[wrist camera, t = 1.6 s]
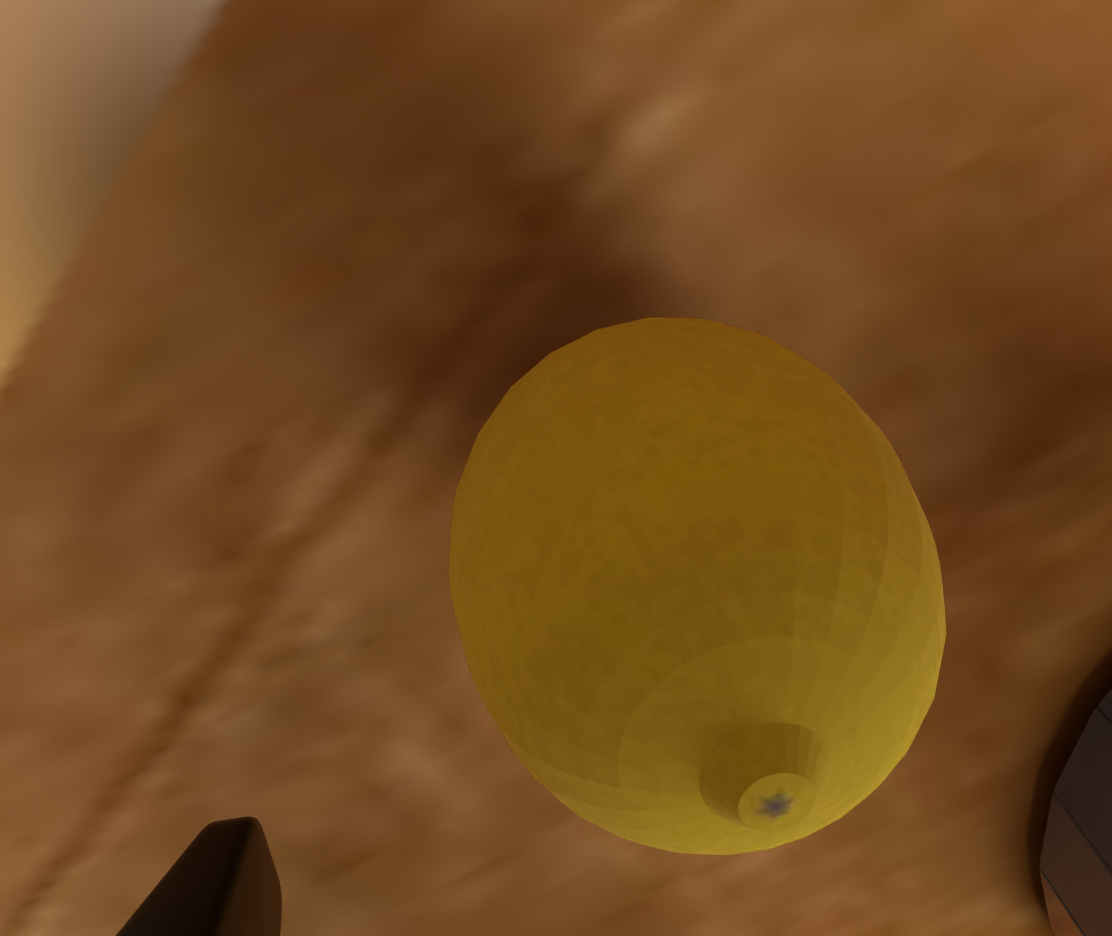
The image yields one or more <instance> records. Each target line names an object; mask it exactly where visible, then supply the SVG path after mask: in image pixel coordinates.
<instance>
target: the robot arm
mask: <svg viewBox="0 0 1112 936" xmlns="http://www.w3.org/2000/svg"><path fill="white" fill-rule="evenodd" d="M281 913H282V896H281V887H280V881H279V878H278V875H277V871H276V868H275V865H274V862H273V859H272V856H271V853H270V850H269V847H268V844H267V840H266V837H265V834H264V831H263V828H262V826H261V824H260V823H259V821H258V820H257V819H256V818H254V817H249V816H248V817H241V818H234V819H228V820H221V821H215V822H212V823H210V824H208V825H207V826H206V827H205V828H203V830H202V831H201V832H200V833H199V834H198V835H197V837H196V838H195V839H194V840H193V842H192V843H191V844H190V845H189V846H188V848H187V849H186V850H185V851H184V853H183V854H182V855H181V856H180V858H179V859H178V860H177V861H176V862H175V864H174V865H173V866H172V867H171V869H170V870H169V871H168V872H167V873H166V875H165V876H164V877H163V878H162V880H161V881H160V882H159V883H158V885H157V886H156V887H155V888H154V889H153V891H152V892H151V893H150V894H149V896H148V897H147V898H146V899H145V900H144V902H143V903H142V904H141V905H140V907H139V908H138V909H137V910H136V911H135V913H134V914H133V915H132V916H131V918H130V919H129V920H128V921H127V923H126V924H125V925H124V926H123V927H122V929H121V930H120V931H119V932H118V934H117V935H116V936H280V930H281Z"/></svg>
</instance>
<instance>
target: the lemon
mask: <svg viewBox="0 0 1112 936" xmlns="http://www.w3.org/2000/svg"><path fill="white" fill-rule="evenodd" d="M449 584H450V594H451V598H452V602H453V607H454V611H455V615H456V619H457V623H458V628H459V632H460V636H461V640H462V644H463V649H464V653H465V657H466V661H467V664H468V667H469V669H470V672H471V675H472V678H473V681H474V683H475V685H476V687H477V689H478V692H479V694H480V696H481V698H482V700H483V702H484V703H485V705H486V707H487V709H488V710H489V712H490V714H491V715H492V717H493V719H494V720H495V722H496V724H497V726H498V727H499V729H500V731H501V732H502V734H503V736H504V737H505V739H506V741H507V742H508V744H509V746H510V747H511V749H512V751H513V752H514V754H515V756H516V757H517V759H518V760H519V761H520V762H521V763H522V765H523V766H524V767H525V768H526V770H527V771H528V772H529V773H530V774H531V775H532V776H533V777H534V778H535V779H536V780H537V781H538V782H540V783H541V784H542V785H543V786H544V787H545V788H546V789H547V790H548V791H550V792H551V793H552V794H553V795H554V796H555V797H556V798H557V799H559V800H560V801H561V802H562V803H563V804H564V805H566V806H567V807H568V808H569V809H571V810H572V811H573V812H575V813H576V814H577V815H579V816H580V817H582V818H584V819H586V820H588V821H590V822H592V823H594V824H596V825H598V826H599V827H601V828H603V829H605V830H607V831H609V832H611V833H613V834H615V835H617V836H619V837H622V838H625V839H627V840H630V841H632V842H635V843H639V844H643V845H647V846H651V847H655V848H659V849H663V850H667V851H671V852H675V853H687V854H712V855H733V854H740V853H747V852H753V851H760V850H767V849H770V848H773V847H776V846H780V845H783V844H786V843H789V842H792V841H795V840H798V839H801V838H804V837H806V836H808V835H810V834H812V833H814V832H816V831H818V830H819V829H821V828H823V827H825V826H827V825H829V824H831V823H832V822H834V821H836V820H838V819H840V818H841V817H842V816H844V815H845V814H846V813H847V812H849V811H850V810H851V809H852V808H854V807H855V806H856V805H857V804H859V803H860V802H861V801H862V800H864V799H865V798H866V797H867V796H869V795H870V794H871V793H872V792H873V791H874V790H875V789H876V788H877V787H878V786H879V785H880V784H881V783H882V782H883V780H884V779H885V778H886V777H887V776H888V774H889V773H890V772H891V771H892V770H893V769H894V767H895V766H896V765H897V764H898V763H899V761H900V760H901V759H902V758H903V757H904V755H905V754H906V753H907V751H908V749H909V747H910V745H911V743H912V742H913V740H914V738H915V736H916V734H917V732H918V730H919V728H920V726H921V724H922V722H923V720H924V718H925V716H926V714H927V712H928V710H929V708H930V706H931V704H932V702H933V700H934V696H935V691H936V686H937V681H938V676H939V670H940V665H941V660H942V655H943V649H944V644H945V639H946V618H945V606H944V596H943V587H942V577H941V568H940V562H939V557H938V553H937V549H936V544H935V541H934V538H933V535H932V532H931V529H930V526H929V523H928V521H927V518H926V516H925V514H924V512H923V510H922V508H921V505H920V503H919V501H918V499H917V497H916V494H915V492H914V490H913V488H912V486H911V484H910V481H909V479H908V477H907V475H906V473H905V470H904V468H903V466H902V464H901V462H900V460H899V457H898V455H897V454H896V452H895V450H894V449H893V447H892V445H891V444H890V442H889V440H888V439H887V438H886V436H885V435H884V434H883V432H882V431H881V430H880V429H879V427H878V426H877V425H876V424H875V423H874V422H873V420H872V419H871V418H870V417H869V416H868V415H867V414H866V413H865V412H864V411H863V410H862V409H861V407H860V406H859V405H858V404H857V403H856V402H855V401H854V400H853V399H852V398H851V397H850V396H849V394H848V393H847V392H846V391H845V390H844V389H843V388H842V387H841V386H840V385H839V384H838V383H837V382H836V381H835V380H834V379H833V378H832V377H831V376H830V375H829V374H827V373H826V372H824V371H823V370H821V369H820V368H819V367H817V366H816V365H814V364H812V363H811V362H809V361H807V360H806V359H804V358H802V357H801V356H799V355H797V354H796V353H794V352H792V351H790V350H789V349H787V348H785V347H784V346H782V345H780V344H779V343H777V342H775V341H774V340H772V339H770V338H768V337H766V336H764V335H762V334H759V333H756V332H752V331H749V330H745V329H741V328H738V327H734V326H730V325H726V324H723V323H719V322H715V321H711V320H708V319H703V318H644V319H640V320H635V321H631V322H627V323H623V324H618V325H614V326H610V327H606V328H602V329H597V330H595V331H593V332H591V333H589V334H587V335H585V336H583V337H581V338H579V339H577V340H575V341H573V342H571V343H569V344H567V345H565V346H563V347H561V348H559V349H557V350H555V351H553V352H551V353H550V354H548V355H547V356H546V357H545V358H544V359H543V360H541V361H540V362H539V363H538V364H537V365H536V366H534V367H533V368H532V369H531V370H530V371H529V372H527V373H526V374H525V375H524V376H523V377H522V378H521V379H519V380H518V381H517V382H516V383H515V384H514V385H512V386H511V387H510V389H509V390H508V392H507V393H506V394H505V396H504V397H503V399H502V400H501V402H500V403H499V404H498V406H497V407H496V409H495V410H494V411H493V413H492V414H491V416H490V417H489V419H488V420H487V421H486V423H485V424H484V426H483V427H482V429H481V430H480V432H479V433H478V435H477V436H476V439H475V442H474V444H473V447H472V450H471V453H470V455H469V458H468V461H467V463H466V466H465V469H464V472H463V474H462V477H461V480H460V482H459V485H458V488H457V491H456V493H455V497H454V503H453V508H452V521H451V537H450V553H449Z"/></svg>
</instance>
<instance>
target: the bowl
mask: <svg viewBox="0 0 1112 936" xmlns="http://www.w3.org/2000/svg"><path fill="white" fill-rule="evenodd" d="M1098 706H1099V707H1097V708H1095V709H1094V710H1093V712H1092V714H1091V716H1090V718H1089V720H1088V722H1087V724H1086V726H1085V728H1084V730H1083V732H1082V734H1081V735H1080V737H1079V739H1078V741H1077V743H1076V745H1075V747H1074V749H1073V751H1072V753H1071V755H1070V757H1069V759H1068V761H1067V763H1066V765H1065V767H1064V769H1063V771H1062V773H1061V775H1060V776H1059V778H1058V780H1057V782H1056V784H1055V786H1054V792H1053V794H1052V798H1051V803H1050V808H1049V814H1048V819H1047V824H1046V830H1045V835H1044V840H1043V846H1042V851H1041V856H1040V862H1039V863H1040V868H1039V870H1040V875H1041V881H1042V886H1043V891H1044V896H1045V901H1046V906H1047V911H1048V916H1049V922H1050V927H1051V929H1052V932H1053V934H1054V936H1112V688H1111V689H1110V690H1109V691H1108V693H1107V694H1106V695H1105V696H1104V697H1103V699H1102V700H1101V701H1100V702H1099V705H1098Z"/></svg>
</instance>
